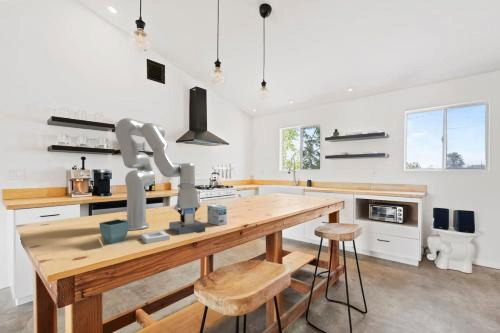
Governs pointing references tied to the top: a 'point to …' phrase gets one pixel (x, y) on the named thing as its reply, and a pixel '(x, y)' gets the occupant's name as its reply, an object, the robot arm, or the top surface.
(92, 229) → the top surface
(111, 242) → the flower pot
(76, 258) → the top surface
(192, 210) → the plug
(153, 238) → the grey base plate
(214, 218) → the light bulb box
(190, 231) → the port block
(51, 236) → the top surface
